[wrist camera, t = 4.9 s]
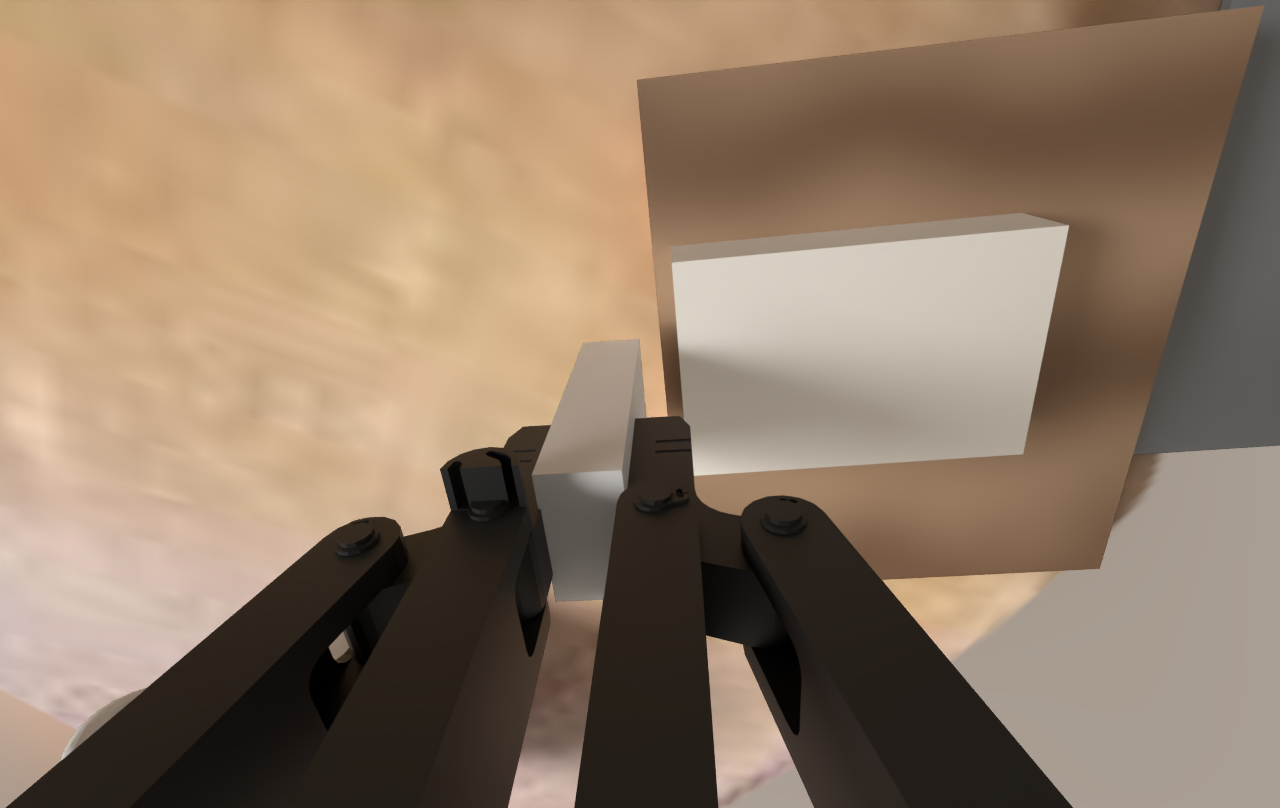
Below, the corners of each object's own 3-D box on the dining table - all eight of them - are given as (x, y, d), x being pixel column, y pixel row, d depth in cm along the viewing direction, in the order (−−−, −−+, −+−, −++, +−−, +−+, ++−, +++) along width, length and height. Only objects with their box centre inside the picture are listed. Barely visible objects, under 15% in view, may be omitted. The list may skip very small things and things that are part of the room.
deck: (640, 85, 17) (637, 79, 14) (1177, 21, 15) (1264, 5, 13) (681, 544, 23) (683, 589, 21) (1055, 523, 22) (1099, 568, 20)
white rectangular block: (670, 246, 16) (671, 262, 14) (1021, 212, 15) (1069, 225, 13) (686, 441, 18) (688, 476, 17) (986, 420, 18) (1023, 454, 16)
